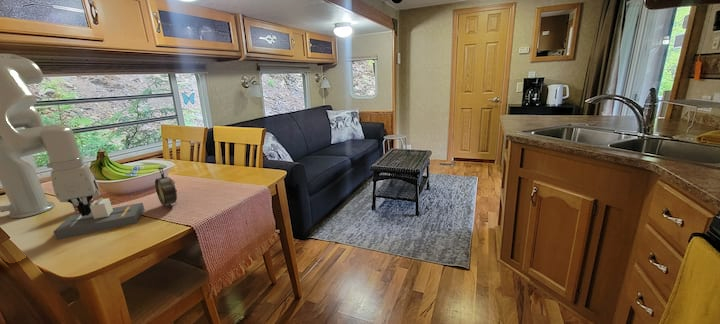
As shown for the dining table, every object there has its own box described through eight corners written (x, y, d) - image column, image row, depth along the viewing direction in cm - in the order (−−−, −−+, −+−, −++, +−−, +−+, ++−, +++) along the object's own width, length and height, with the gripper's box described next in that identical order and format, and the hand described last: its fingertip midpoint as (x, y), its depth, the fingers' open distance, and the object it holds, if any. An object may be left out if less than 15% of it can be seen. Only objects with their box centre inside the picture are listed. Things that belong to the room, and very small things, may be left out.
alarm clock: (159, 204, 120) (148, 166, 115) (173, 199, 123) (164, 162, 118) (167, 212, 112) (156, 172, 107) (182, 206, 116) (172, 168, 111)
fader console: (56, 239, 96) (53, 231, 96) (72, 223, 107) (69, 215, 106) (136, 223, 105) (134, 215, 104) (144, 209, 115) (142, 202, 114)
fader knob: (94, 218, 102) (88, 204, 100) (99, 213, 107) (94, 198, 105) (108, 216, 104) (103, 201, 102) (113, 210, 108) (108, 196, 106)
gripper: (32, 171, 91) (53, 224, 97) (92, 163, 97) (109, 213, 102) (44, 165, 98) (64, 214, 103) (100, 158, 103) (116, 205, 109)
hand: (86, 214), depth 103 cm, fingers closed
